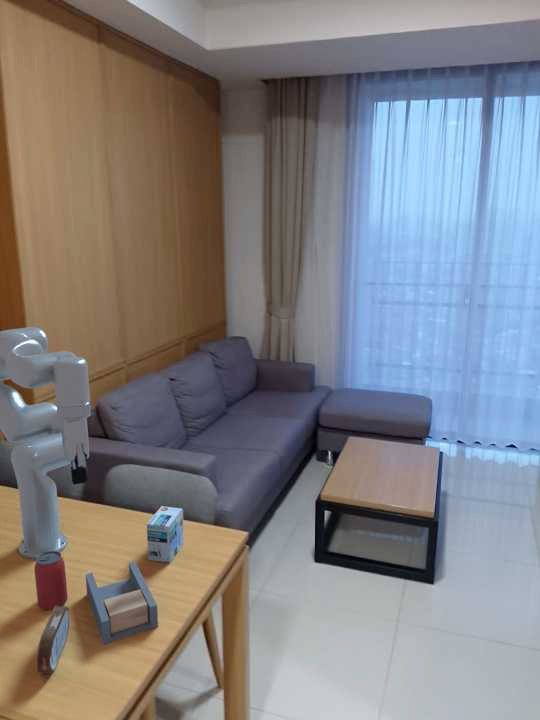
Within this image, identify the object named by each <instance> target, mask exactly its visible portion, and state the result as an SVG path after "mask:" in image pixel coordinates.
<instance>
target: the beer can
mask: <svg viewBox="0 0 540 720" xmlns="http://www.w3.org/2000/svg"><path fill="white" fill-rule="evenodd" d="M65 565H66V564H65V560H64V558H63V556H62V553H61V552H60V551H59V552H57V551H48V552H45V553H42V554H41V555H39V556H38V557H37V558H36V559H35V565H34V576H35V577H34V579H35V587H36V597H37V605H38V606H39V608H41V609H42V610H44V611H45V610H46V611H50V610H51V611H53V609H54V607H55V606H63V605H65V603H66V602H67V600H68V588H67V575H66V566H65Z"/></svg>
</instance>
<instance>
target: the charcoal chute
mask: <svg viewBox="0 0 540 720" xmlns="http://www.w3.org/2000/svg"><path fill="white" fill-rule="evenodd" d="M128 575H129V578H128V579H125V580H121V581H117V582H114V583H111V584H110V583H109V584H106V585H103V586H100V587H98V584H97V582H96V579H95V577H94V574H93V572H89V573H86V574H85V582H86V583H85V584H86V585H85V587H86V596H87V599H88V601H89V605H90V607H91V611H92V614H93V617H94V620H95V623H96V627H97V629H98V632H99V635H100V638H101V641H102V644H103V645H106V644H110V643H112V642H116V641H119V640H121V639H125V638H128V637H130V636H133V635H136V634H140V633H143V632H147V631H149V630H152V629H156V628H158V627H159V619H158V604H157V602H156V600H155V598H154V596H153V594H152V593H151V590H150V588H149V586H148V584H147V582H146V580H145V578H144V576H143V574H142V572H141V571H140V569H139V566H138V564H137V562H136V561H131V562H129V563H128ZM136 590H141V592H142V594H143V596H144V598H145V601H146V603H147V608H148V622H147V623H144V624H140V625H137V626H134V627H131V628H128V629H125V630H122V631H119V632H115V633H112V634H111V632H110V621H109V617H108V615H107V612H106V609H105V606H104V600H105V599H109V598H112V597H116V596H119V595H122V594H126V593H129V592H133V591H136Z"/></svg>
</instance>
